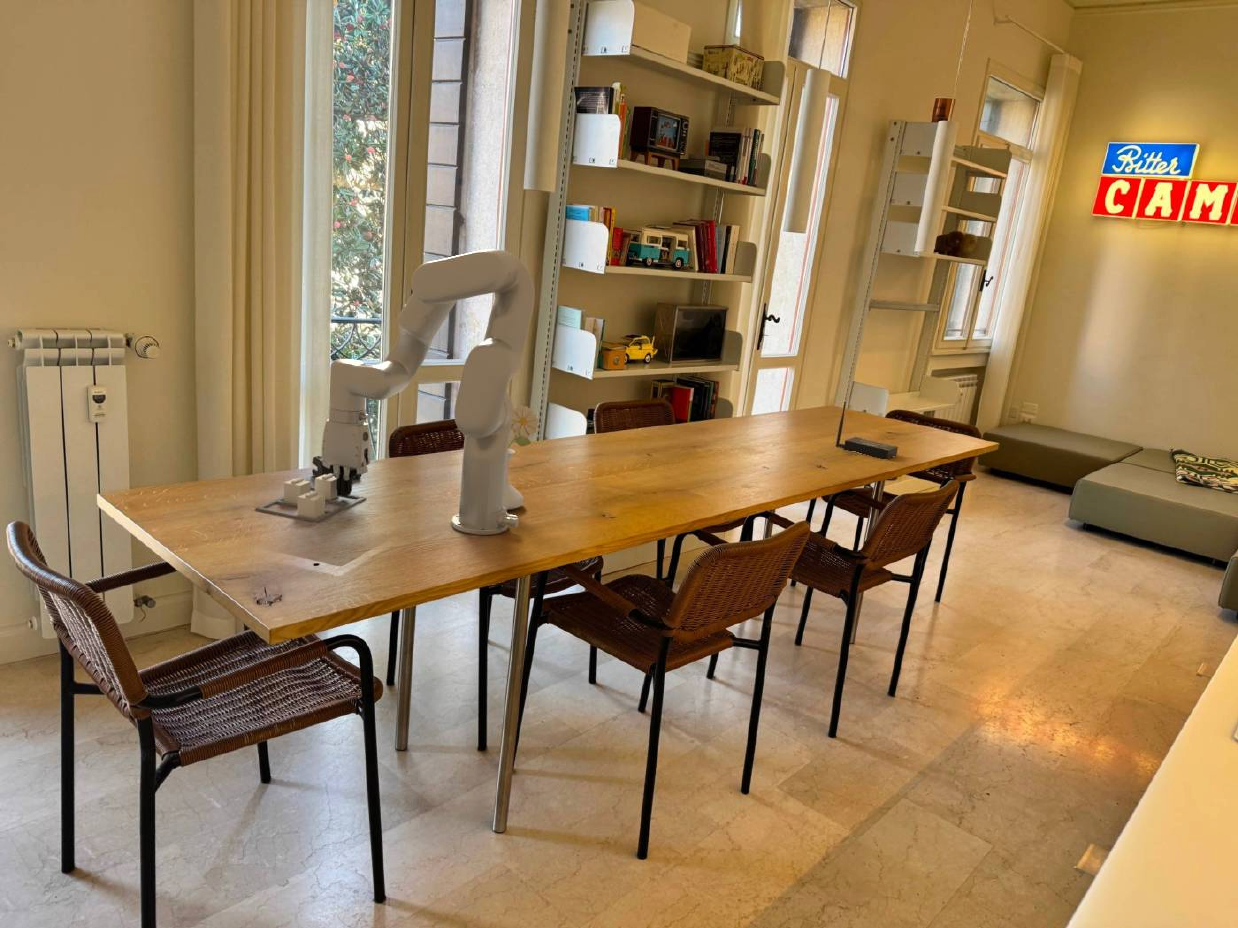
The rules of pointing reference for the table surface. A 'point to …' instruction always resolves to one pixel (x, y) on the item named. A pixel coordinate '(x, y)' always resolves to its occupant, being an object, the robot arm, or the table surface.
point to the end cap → (324, 468)
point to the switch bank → (317, 520)
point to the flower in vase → (521, 426)
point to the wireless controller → (866, 445)
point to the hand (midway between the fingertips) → (343, 494)
